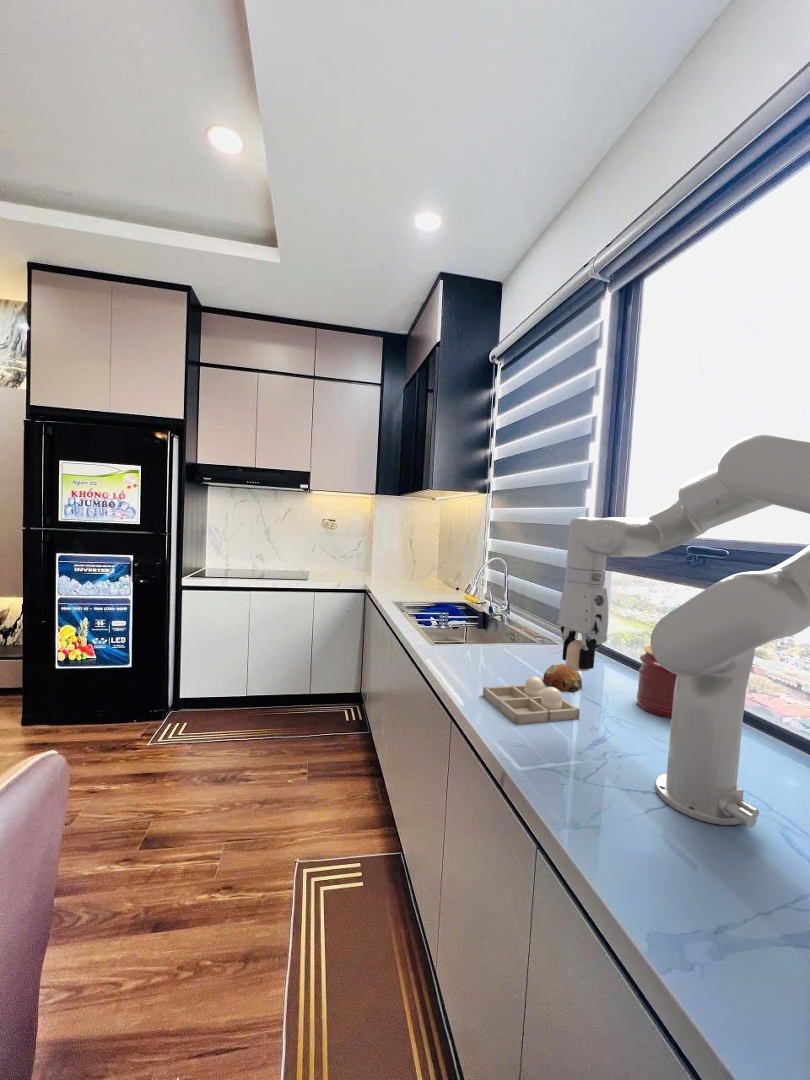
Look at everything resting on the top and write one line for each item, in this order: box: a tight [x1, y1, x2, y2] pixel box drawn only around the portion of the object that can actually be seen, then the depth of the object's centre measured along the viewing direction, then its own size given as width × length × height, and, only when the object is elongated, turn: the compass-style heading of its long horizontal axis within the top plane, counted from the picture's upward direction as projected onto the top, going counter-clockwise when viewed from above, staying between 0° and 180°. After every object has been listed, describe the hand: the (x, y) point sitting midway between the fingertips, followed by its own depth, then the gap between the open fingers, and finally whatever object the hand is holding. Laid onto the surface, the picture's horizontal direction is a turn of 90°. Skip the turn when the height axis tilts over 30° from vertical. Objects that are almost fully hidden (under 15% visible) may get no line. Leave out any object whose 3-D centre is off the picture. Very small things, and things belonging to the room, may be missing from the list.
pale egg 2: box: [541, 686, 563, 710], centre depth 107 cm, size 5×5×6 cm
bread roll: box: [542, 663, 583, 693], centre depth 126 cm, size 10×10×8 cm
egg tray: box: [482, 684, 581, 725], centre depth 109 cm, size 16×16×3 cm
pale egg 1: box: [524, 675, 545, 697], centre depth 113 cm, size 5×5×6 cm
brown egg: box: [565, 639, 590, 672], centre depth 95 cm, size 5×5×6 cm
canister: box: [636, 645, 677, 719], centre depth 113 cm, size 13×13×18 cm
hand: (577, 663), depth 95 cm, fingers closed on brown egg, 4 cm apart
